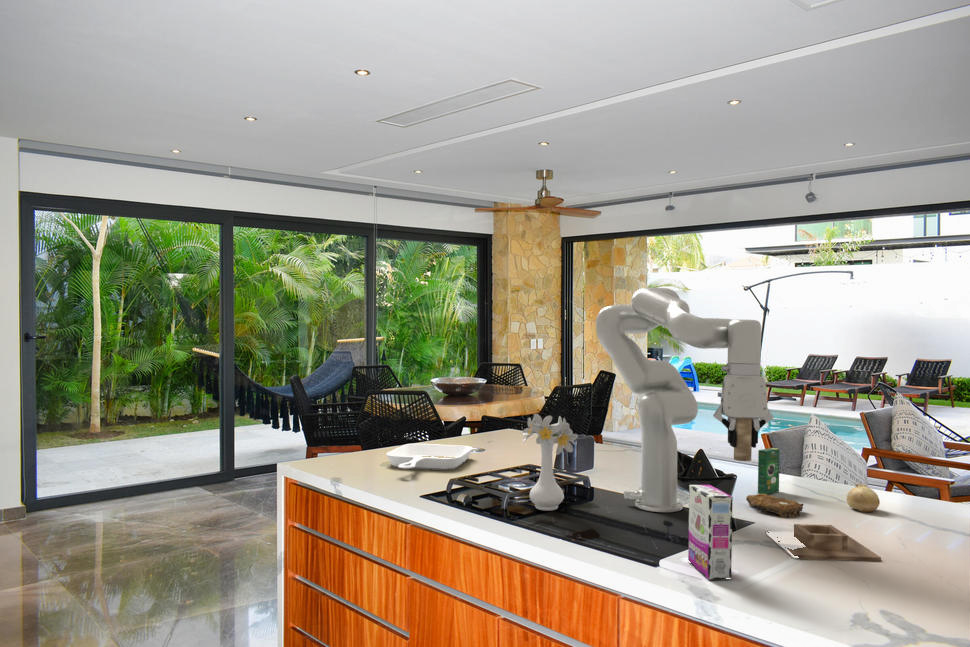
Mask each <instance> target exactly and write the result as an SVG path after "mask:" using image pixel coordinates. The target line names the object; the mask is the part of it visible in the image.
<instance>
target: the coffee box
mask: <svg viewBox="0 0 970 647" xmlns="http://www.w3.org/2000/svg"><path fill="white" fill-rule="evenodd" d="M757 452H758V462H757V471H758V472H757V494H758V493H761V494H767V495H771V494H774V492H775V493H777V491H779V492H780V449H779V448H776V447H775V448H774V447H769V448H763V449H758V450H757ZM770 493H771V494H770Z"/></svg>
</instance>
